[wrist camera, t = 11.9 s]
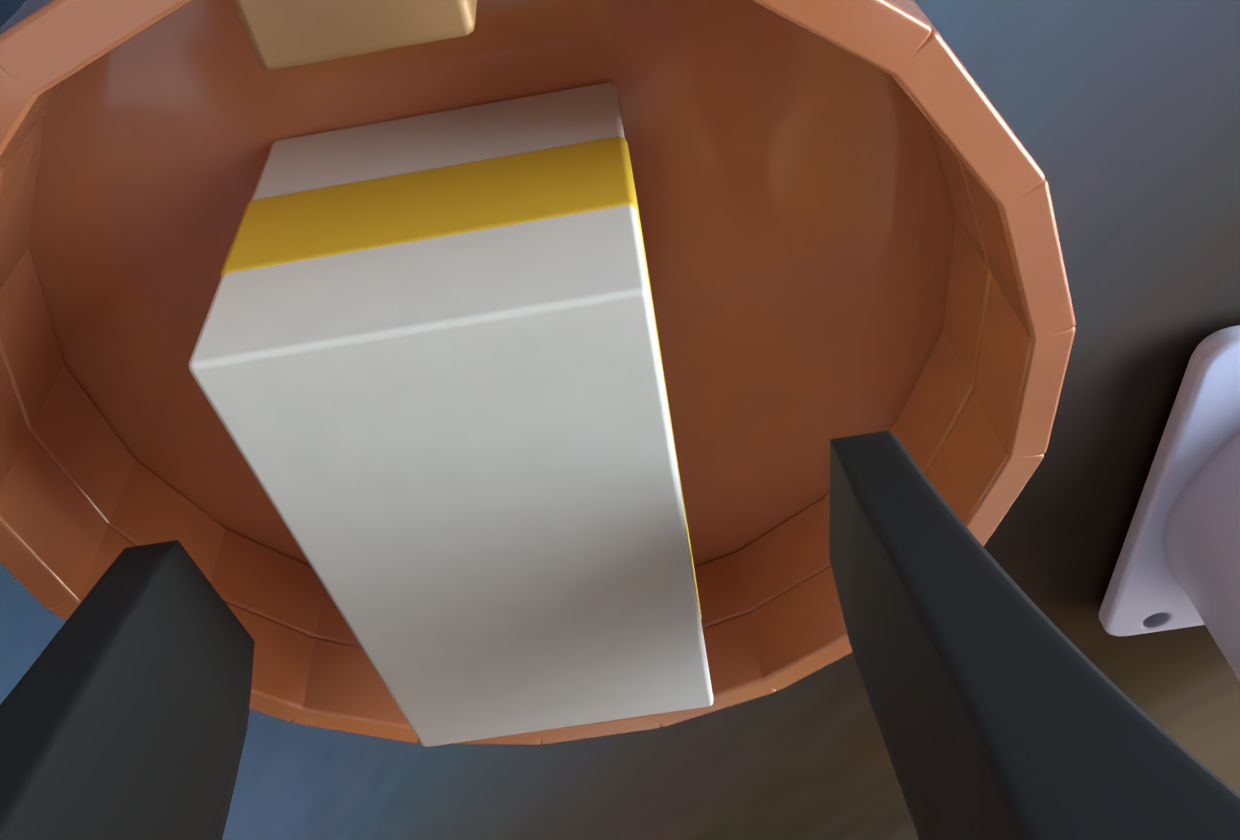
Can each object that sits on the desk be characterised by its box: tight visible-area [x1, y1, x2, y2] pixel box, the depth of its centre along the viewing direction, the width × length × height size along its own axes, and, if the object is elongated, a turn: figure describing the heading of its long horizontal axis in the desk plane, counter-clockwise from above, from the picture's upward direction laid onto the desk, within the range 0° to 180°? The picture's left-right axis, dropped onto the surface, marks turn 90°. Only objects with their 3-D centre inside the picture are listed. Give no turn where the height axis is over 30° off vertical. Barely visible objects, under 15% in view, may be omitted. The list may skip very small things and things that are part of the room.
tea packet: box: [189, 82, 714, 747], centre depth 12 cm, size 4×7×4 cm, turn 9°
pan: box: [0, 0, 1076, 745], centre depth 13 cm, size 13×13×3 cm
